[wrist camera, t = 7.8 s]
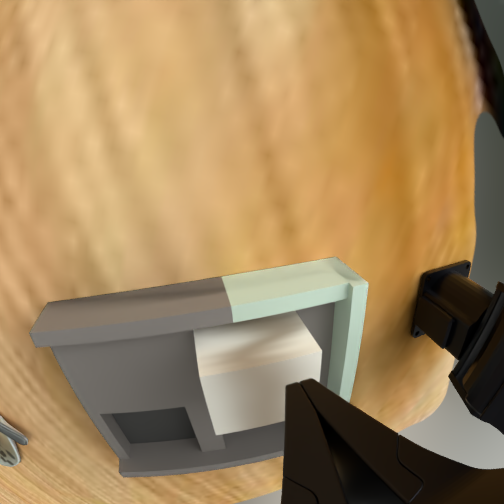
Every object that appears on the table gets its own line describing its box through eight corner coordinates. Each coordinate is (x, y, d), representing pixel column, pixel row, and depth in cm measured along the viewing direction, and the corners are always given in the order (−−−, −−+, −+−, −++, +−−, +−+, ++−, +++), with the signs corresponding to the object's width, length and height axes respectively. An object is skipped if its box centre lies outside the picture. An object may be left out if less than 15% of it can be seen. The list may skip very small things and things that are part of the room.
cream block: (294, 309, 18) (322, 350, 14) (294, 370, 20) (316, 411, 16) (193, 328, 17) (199, 377, 13) (207, 388, 19) (215, 435, 15)
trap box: (336, 256, 20) (368, 283, 16) (322, 412, 26) (339, 442, 22) (48, 302, 16) (26, 338, 13) (124, 447, 22) (123, 481, 19)
